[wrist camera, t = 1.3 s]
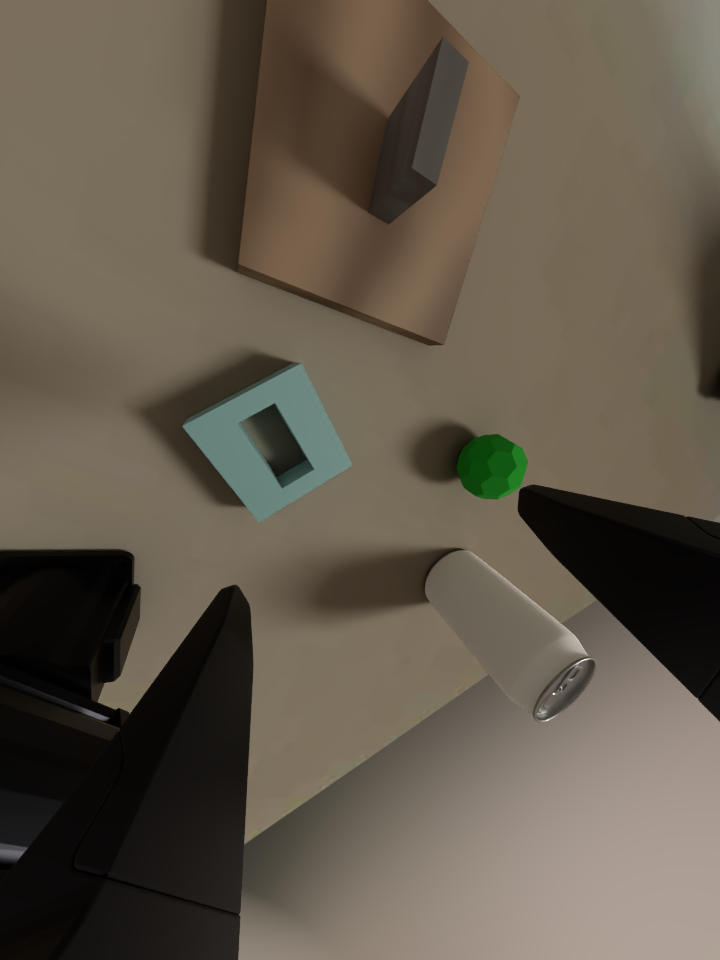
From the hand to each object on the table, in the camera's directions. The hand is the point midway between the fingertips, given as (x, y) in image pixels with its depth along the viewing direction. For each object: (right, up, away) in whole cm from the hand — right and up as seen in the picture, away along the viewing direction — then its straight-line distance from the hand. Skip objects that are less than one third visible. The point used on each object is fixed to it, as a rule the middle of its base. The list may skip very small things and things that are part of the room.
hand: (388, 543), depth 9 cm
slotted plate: (-6, +4, +9) cm, 12 cm away
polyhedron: (+8, +4, +16) cm, 19 cm away
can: (+8, -8, +21) cm, 24 cm away
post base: (0, +17, +6) cm, 18 cm away
